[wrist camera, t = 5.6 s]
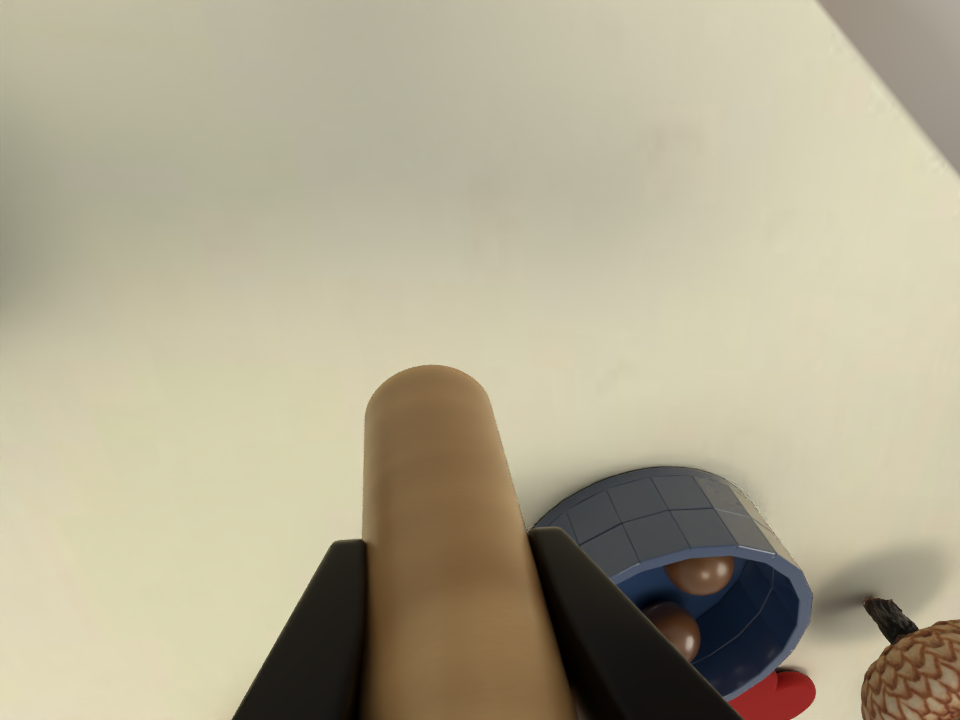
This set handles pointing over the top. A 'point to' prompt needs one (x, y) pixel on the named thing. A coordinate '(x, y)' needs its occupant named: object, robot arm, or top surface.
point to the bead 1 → (701, 574)
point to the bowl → (696, 534)
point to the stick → (449, 564)
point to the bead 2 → (675, 626)
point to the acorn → (912, 668)
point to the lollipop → (776, 697)
